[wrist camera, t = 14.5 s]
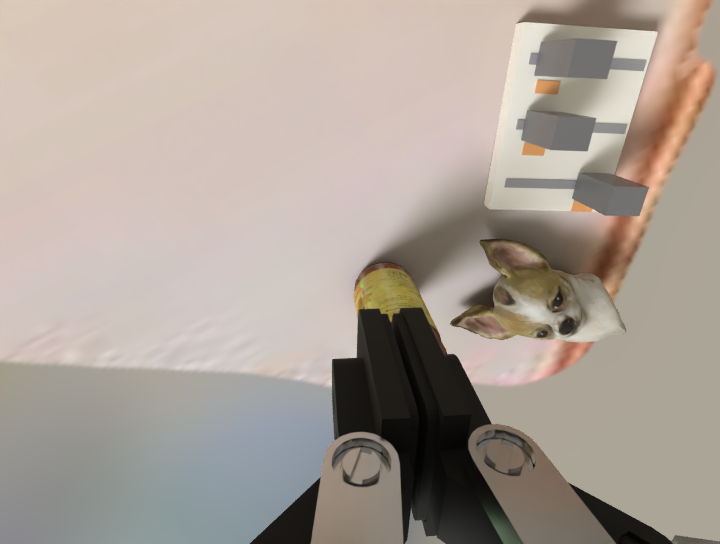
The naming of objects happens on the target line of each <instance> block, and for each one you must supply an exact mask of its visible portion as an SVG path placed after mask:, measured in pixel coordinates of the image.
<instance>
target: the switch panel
mask: <svg viewBox="0 0 720 544" xmlns="http://www.w3.org/2000/svg"><path fill="white" fill-rule="evenodd" d="M657 34H658V32H656V31H642V30H628V29H614V28H600V27H586V26H572V25H558V24H544V23H530V22H522V23H518V24H516V27H515V32H514V38H513V44H512V49H511V55H510V60H509V66H508V72H507V77H506V83H505V88H504V94H503V100H502V105H501V111H500V116H499V122H498V128H497V133H496V139H495V144H494V150H493V156H492V161H491V167H490V172H489V178H488V184H487V189H486V195H485V200H484V205H485V206H486V207H487V208H488V209H493V210H545V211H580V212H591V211H595V210H593V209H592V208H590V207H588V206H586V205H584V204H582V203H580V202H578V201H576V200H574V199H572V196H573V193H574V189H575V185H576V181H577V178H578V174H579V172H580V173H610V174H613V175H615V172H616V169H617V165H618V162H619V159H620V155H621V152H622V149H623V146H624V142H625V139H626V136H627V132H628V129H629V126H630V123H631V119H632V116H633V113H634V109H635V106H636V103H637V99H638V96H639V93H640V90H641V86H642V83H643V80H644V76H645V73H646V70H647V66H648V63H649V60H650V57H651V53H652V50H653V47H654V43H655V40H656V37H657ZM572 38H583V39H598V40H612V41H617V44H616V48H615V52H614V55H613V59H612V63H611V67H610V70H609V74H608V78H607V79H588V78H565V77H547V76H534V74H535V69H536V64H537V59H538V54H539V49H540V44H541V42H546V41H555V40H563V39H572ZM527 110H535V111H556V112H565V113H571V114H577V115H582V116H588V117H594V118H596V122H595V126H594V129H593V133H592V137H591V141H590V144H589V148H588V151H561V150H548V149H546V148H543V147H540V146H537V145H534V144H531V143H528V142H525V141H522V140H521V138H522V133H523V128H524V123H525V118H526V113H527ZM596 212H597V211H596Z"/></svg>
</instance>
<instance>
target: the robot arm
mask: <svg viewBox="0 0 720 544" xmlns="http://www.w3.org/2000/svg"><path fill="white" fill-rule="evenodd" d="M332 399H333V400H332V402H333V422H334V439H335V441H333V442H332V444H331V445H330V446H329V447H328V449H327V450H326V453H325V456H324V460H323V466H322V473H321V477H320V478H319V479H318V480H317V481H316V482H315V483H314V484H313V485H312V486H311V487H310V488H309V489H307V490H306V491H305V492H304V493H303V494H302V495H301V496H300V497H299V498H298V499H297V500H296V501H295V502H294V503H293V504H292V505H290V506H289V507H288V508H287V509H286V510H285V511H284V512H283V513H282V514H281V515H280V516H279V517H278V518H277V519H276V520H274V521H273V522H272V523H271V524H270V525H269V526H268V527H267V528H266V529H265V530H264V531H263V532H262V533H261V534H260V535H259V536H257V537H256V538H255V539H254V540H253V541H252V542H251V543H250V544H405V542H406V541H407V537H408V528H409V519H410V511H411V509H412V513H413V517H414V519H415V520H422V521H423V526H424V530H425V534H426V536H435V535H437V538H439V539H440V540H441V541H443V542H444V543H446V544H720V542H718V541H712V540H705V539H698V538H690V537H684V536H676V535H675V536H674V538H673V540H672V541H670V540H668V538H666V537H665V536H664V535H662V534H661V533H659V532H657V531H656V530H655V529H653V528H652V527H650V526H648V525H646V524H644V523H642V522H640V521H639V520H637V519H635V518H633V517H631V516H629V515H627V514H626V513H624V512H622V511H620V510H618V509H616V508H614V507H612V506H611V505H609V504H607V503H605V502H603V501H601V500H600V499H598V498H596V497H594V496H592V495H590V494H588V493H586V492H584V491H583V490H581V489H579V488H577V487H575V486H573V485H572V484H570V483H568V482H567V481H566V480H565V479H564V477H563V476H562V475H561V474H560V472H559V471H558V470H557V469H556V467H555V466H554V465H553V464H552V462H551V461H550V460H549V459H548V457H547V456H546V455H545V454H544V452H543V451H542V450H541V449H540V447H539V446H538V445H537V444H536V443H535V442H534V441H533V440H532V439H531V438H530V437H529V436H527V435H526V434H524V433H523V432H521V431H520V430H517V429H515V428H512V427H509V426H505V425H500V424H491V422H490V420H489V418H488V416H487V414H486V412H485V410H484V408H483V406H482V404H481V402H480V400H479V398H478V396H477V394H476V392H475V390H474V388H473V386H472V384H471V382H470V380H469V379H468V377H467V375H466V373H465V371H464V369H463V367H462V365H461V363H460V361H459V359H458V357H457V356H456V355H454V354H446V355H444V354H443V352H442V350H441V347H440V345H439V343H438V341H437V339H436V337H435V335H434V332H433V330H432V328H431V326H430V324H429V322H428V320H427V317H426V315H425V313H424V311H423V309H422V307H412V308H400V311H399V313H393V315H392V326H391V323H390V319H389V316H388V314H381V311H380V309H379V308H377V309H359V310H358V334H357V358H347V359H332Z"/></svg>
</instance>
